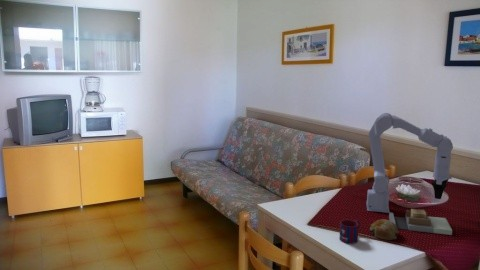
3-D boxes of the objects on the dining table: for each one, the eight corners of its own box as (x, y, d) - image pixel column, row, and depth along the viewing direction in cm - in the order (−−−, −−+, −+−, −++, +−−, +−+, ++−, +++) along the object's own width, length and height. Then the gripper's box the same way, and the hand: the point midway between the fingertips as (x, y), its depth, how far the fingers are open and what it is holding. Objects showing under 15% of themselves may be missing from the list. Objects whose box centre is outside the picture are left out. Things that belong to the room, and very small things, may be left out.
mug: (335, 238, 143) (336, 222, 142) (352, 232, 148) (353, 216, 147) (349, 245, 138) (350, 228, 136) (366, 238, 143) (367, 221, 142)
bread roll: (389, 250, 141) (400, 235, 138) (364, 234, 145) (374, 218, 142) (393, 240, 149) (404, 225, 146) (370, 225, 153) (380, 210, 150)
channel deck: (391, 228, 152) (392, 217, 151) (389, 216, 163) (389, 207, 162) (451, 235, 145) (452, 224, 144) (445, 222, 156) (446, 212, 156)
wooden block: (411, 222, 152) (412, 213, 151) (410, 217, 157) (411, 208, 156) (425, 223, 151) (426, 214, 150) (423, 219, 155) (424, 210, 155)
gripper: (451, 171, 149) (448, 203, 152) (454, 163, 161) (450, 192, 164) (432, 168, 153) (428, 199, 156) (435, 160, 165) (432, 189, 168)
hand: (438, 196), depth 160 cm, fingers open, 7 cm apart
